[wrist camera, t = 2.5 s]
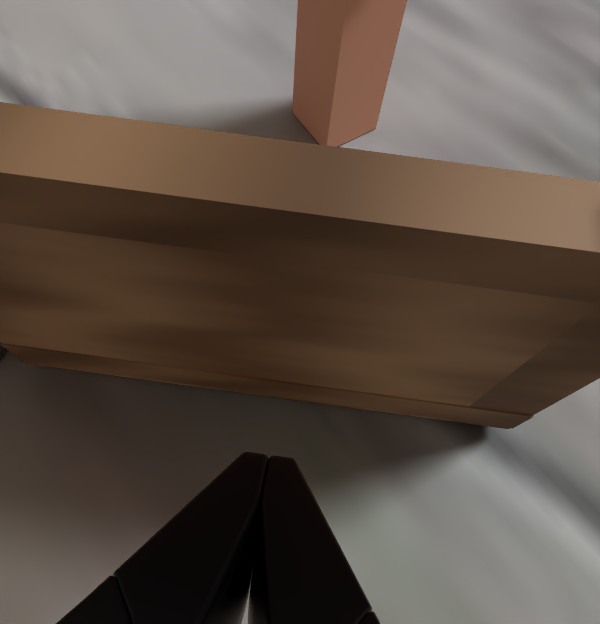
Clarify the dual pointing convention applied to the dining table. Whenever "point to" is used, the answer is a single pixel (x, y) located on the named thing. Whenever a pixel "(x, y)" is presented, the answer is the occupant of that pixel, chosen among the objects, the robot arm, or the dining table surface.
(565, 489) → the dining table surface
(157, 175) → the gate
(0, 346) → the hinge post
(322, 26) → the post
